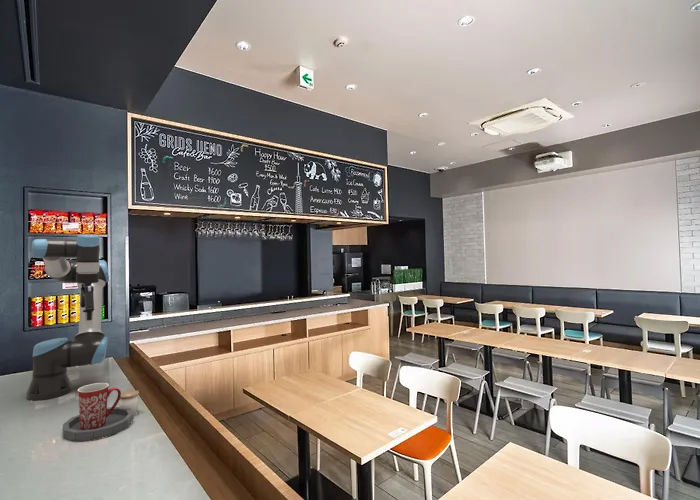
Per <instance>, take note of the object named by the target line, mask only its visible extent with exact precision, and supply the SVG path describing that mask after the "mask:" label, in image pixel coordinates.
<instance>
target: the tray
mask: <svg viewBox="0 0 700 500" xmlns="http://www.w3.org/2000/svg"><path fill="white" fill-rule="evenodd" d="M111 407H112V406H111ZM111 407H110V406H109V407H107V410H106V412H107V411H109V410H110V409H111ZM133 420H134V415H133V412H132V410H131V409H120V408H119V406H116V407H115V408H114V409H113V411H112V412H111V413H110V414H109V415H108V417H107V418H106V423H105V425H103V426H102V427H100V428H97V429H91V430H81V429H80V414H77V415H75V416H72V417H70V418H69V419H68V420H67V421H65V422H64V423H63V424H62V437H63V439H65V440H66V441H69V442H78V443H79V442H80V443H81V442H90V441H89V440H91V441H95V440H94V439H97V440H100V439H99V438H101V439H103V438H102V437H105V438H107V437H106V436H108V437H110V436H109V435H111V436H113V435H112V434H114V435H116V434H118V433H117V432H119V431H121V430H123V429H124V430H126V429H127V428H129V427H130V426H131V425H132V423H133ZM131 422H132V423H131ZM130 424H131V425H130ZM129 425H130V426H129ZM128 426H129V427H128ZM126 427H127V428H126ZM125 428H126V429H125ZM124 430H123V431H124ZM121 432H122V431H121ZM115 433H116V434H115ZM119 433H120V432H119Z"/></svg>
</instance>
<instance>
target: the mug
mask: <svg viewBox="0 0 700 500" xmlns="http://www.w3.org/2000/svg"><path fill="white" fill-rule="evenodd" d="M109 386H110V385H109V383H108V382H96V383H95V382H94V383H90V384H87V385H83V386H81V387H78V389H77V395H78V396H77V397H78V410H79V412H78V413H79V414H78V415H80V429H81V430H91V429H97V428H100V427H102V426H103V425H105V423H106V418H107V417H108V415H109V414H110V413H111V412H112V411H113V409H114V408H115V407H117V405H118V404H119V403H120V397H121V393H122V392H121V389H120V388H118V387H111V388H109ZM113 391H116V392H117V397H116V400H115V402H114V403H113V405H112V406H111V409H110V410H109V411H107V412H106V410H107V408H108V398H109V397H110V395H111V394H112V393H113Z"/></svg>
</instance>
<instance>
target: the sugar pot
mask: <svg viewBox="0 0 700 500" xmlns="http://www.w3.org/2000/svg"><path fill="white" fill-rule="evenodd" d="M139 394H140V391H139V390H136V389H132V390H131V389H129V390H124V391H122V392H121V397H120V400H119V402H118V404H119V406H118V407H119V408H120V409H131V410H132V412H133V414H135V415H137V414H138V413H137V412H138V411H139V408H138V407H139V405H138V403H139V401H138V400H139ZM136 413H137V414H136Z"/></svg>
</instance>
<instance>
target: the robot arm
mask: <svg viewBox="0 0 700 500" xmlns="http://www.w3.org/2000/svg"><path fill="white" fill-rule="evenodd" d="M100 244H101V241H100V235H97V234H78V235H77V236H76V239H58V238H57V239H56V238H55V239H53V238H48V239H47V238H37V239H36V238H35V239H34V240H32V242H31V256H32V257H33V258H37V259H38V258H39V259H42V260H43V262H44V271H45V273H46V275H47V276H48V277H49V278H51V279H53V280H55V281H57V282H61V283H66V284H76V285H77V287H78V288H79V289H80V297H79V314H78V315H79V318H78V333H76V334H75V335H74V337H73V340H69V339H68V338H67V337H59V338H58V337H57V338H53V339H52V338H51V339H47V340H44V341H41V342H38V343H36V344H35V345H34V346H33V348H32V349H33V351H32V378H31V381H30V383H29V386H28V388H27V391H26V394H25V396H26V400H30V401H42V400H43V401H44V400H49V399H53V398H54V399H55V398H59V397H61V396H64V395H66V394H68V393H70V392H71V391H72V383H71V381H70V378H69V375H68V370H67V369H68V368H76V367H82V366H84V367H85V366H93V365H95V364H96V365H97V364H102V363H103V362H104V361H105V359H106V354H107V350H108V349H107V348H108V343H109V337H107V336H105V333H104V332H103V331H102V299H103V298H102V294H103V293H102V291H103V288H104V287H105V286H106V284H107V283H109V281H110V280H109V279H110V278H109V277H110V276H109V268H108V263H107V261H106V260H103V259H100V251H101V247H100ZM66 258H67V259H66Z"/></svg>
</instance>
